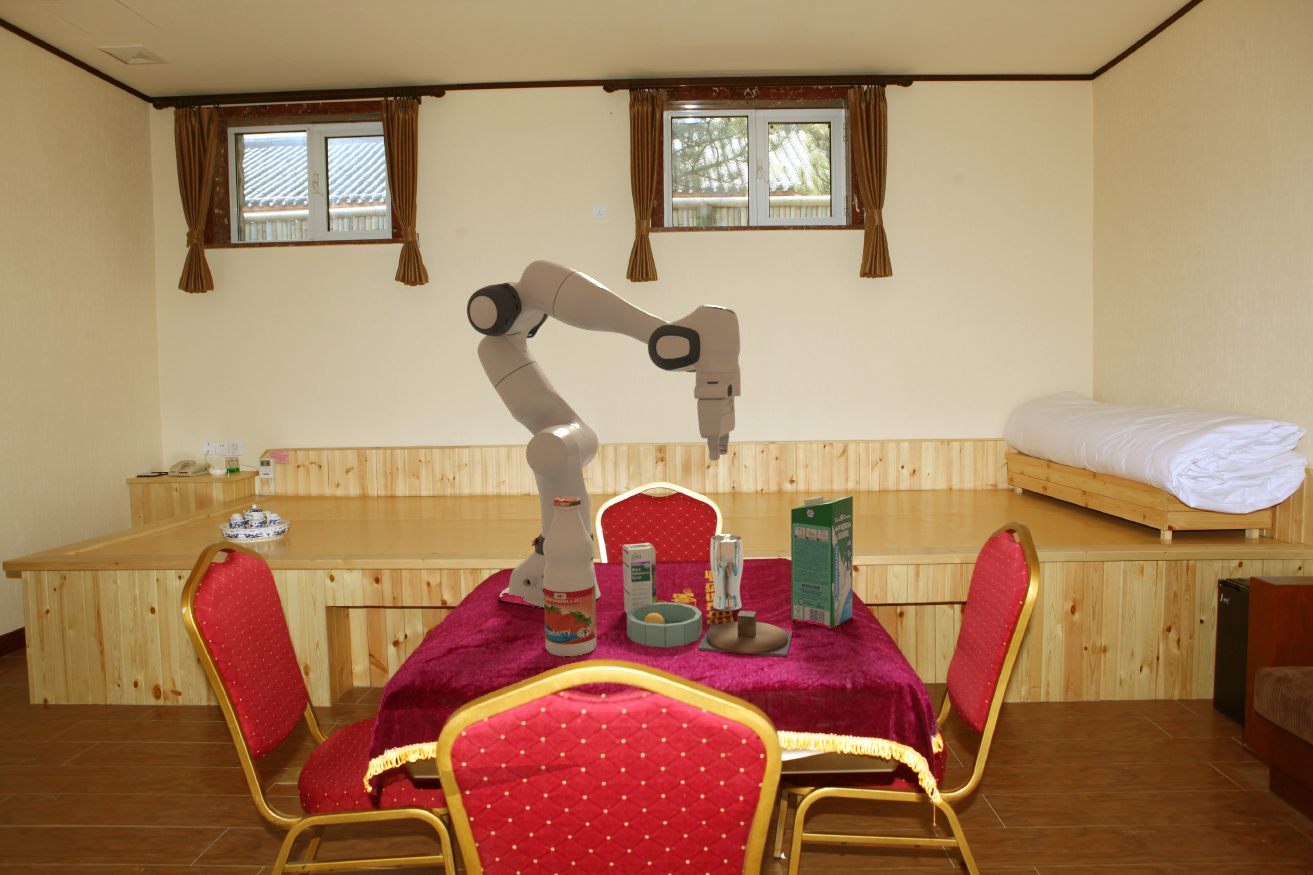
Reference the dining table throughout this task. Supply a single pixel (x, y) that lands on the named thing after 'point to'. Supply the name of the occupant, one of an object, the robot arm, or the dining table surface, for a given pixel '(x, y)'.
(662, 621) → the tangerine
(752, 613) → the lid
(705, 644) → the mat
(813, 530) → the milk carton
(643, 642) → the bowl
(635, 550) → the syrup box
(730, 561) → the chrome tumbler
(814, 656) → the dining table surface
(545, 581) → the fruit juice
